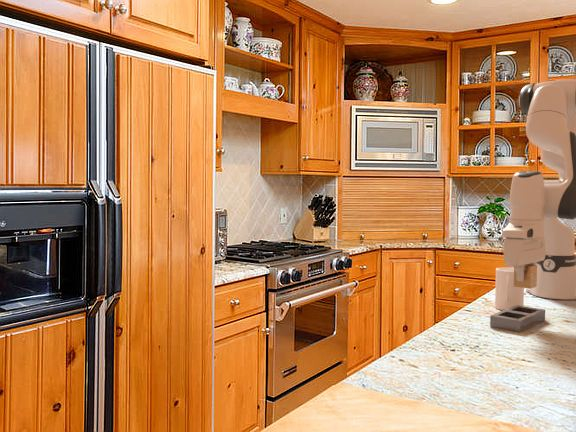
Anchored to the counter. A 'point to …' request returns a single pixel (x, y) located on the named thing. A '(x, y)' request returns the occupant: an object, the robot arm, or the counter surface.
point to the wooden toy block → (527, 277)
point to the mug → (507, 289)
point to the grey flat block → (517, 318)
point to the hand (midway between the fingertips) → (525, 279)
